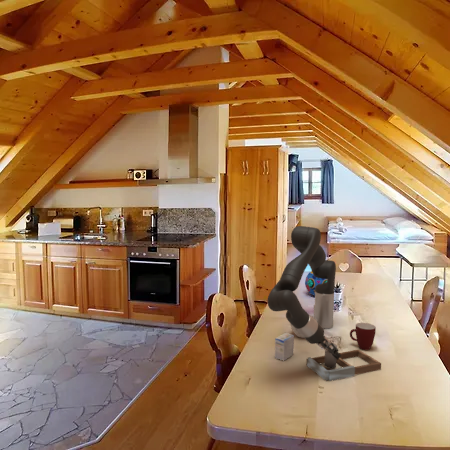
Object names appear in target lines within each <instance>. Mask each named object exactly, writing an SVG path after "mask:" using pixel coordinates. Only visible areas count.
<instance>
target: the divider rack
mask: <svg viewBox="0 0 450 450" xmlns="http://www.w3.org/2000/svg"><path fill="white" fill-rule="evenodd" d="M339 354H340V355H341V357H340V358H339V359H338V360H337V361H336V365H338V366H340V368H332V369H327V368H325V366H324V365H321V364H320V363H322V364H324V361H325V355H321V356H316V357H311V356H309V357H307V358H306V360H305V363H306V367H308V368H309V369H310V368H311V369H312V370H311V369H310V370H311V371H313V372H314V373H315V372H316V373H317V376H319V377H320V376H321V377H322V378H321V377H320V378H321V379H322V380H324V381H325V380H326V382H328V381H327V380H329V382H333V381H337V379H338V380H341V379H342V380H343V379H347V378H353V377H355V376H356V375H361V374H366V373H369V372H375V371H380V370H381V369H382V362H380V361H378V360H377V359H375V358H374V357H372V356H370V355H368V354H367V353H365V352H363V351H362V350H361V349H353V350H348V351H342V352H339ZM352 358H359V359H361V360H362V361H364V362H365V363H367V364H363V365H358V366H354V365H351V364H350V363H349V362H347V361H346V360H347V359H352ZM342 367H343V368H342ZM332 380H333V381H332Z"/></svg>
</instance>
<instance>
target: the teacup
mask: <svg viewBox="0 0 450 450" xmlns="http://www.w3.org/2000/svg"><path fill="white" fill-rule="evenodd" d="M314 319H315V318H314ZM315 320H316V319H315ZM316 321H317V320H316ZM289 324H290V327H291V330H292V332H293V333H294V334H295V336H297V338H298V337H299V338H301V339H305V338H304V337H303V336H302V335H301V334H300V333H299V332H298V331H297V330H296V328H295V327H294V326H293V325H292V324H291V323H290V322H289Z"/></svg>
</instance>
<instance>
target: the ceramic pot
mask: <svg viewBox="0 0 450 450" xmlns="http://www.w3.org/2000/svg"><path fill="white" fill-rule="evenodd" d="M327 281H328V279H322V278H317V277H315V276H314V275H313V272H312V270H311V271H309V272H308V273H307V275H306V276H305V280H304V285H305V288H306V290H307V292H308V293H309V294H310V295H312V296H314V297H315V287H316V285H319V284H323V283H326V282H327Z"/></svg>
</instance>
